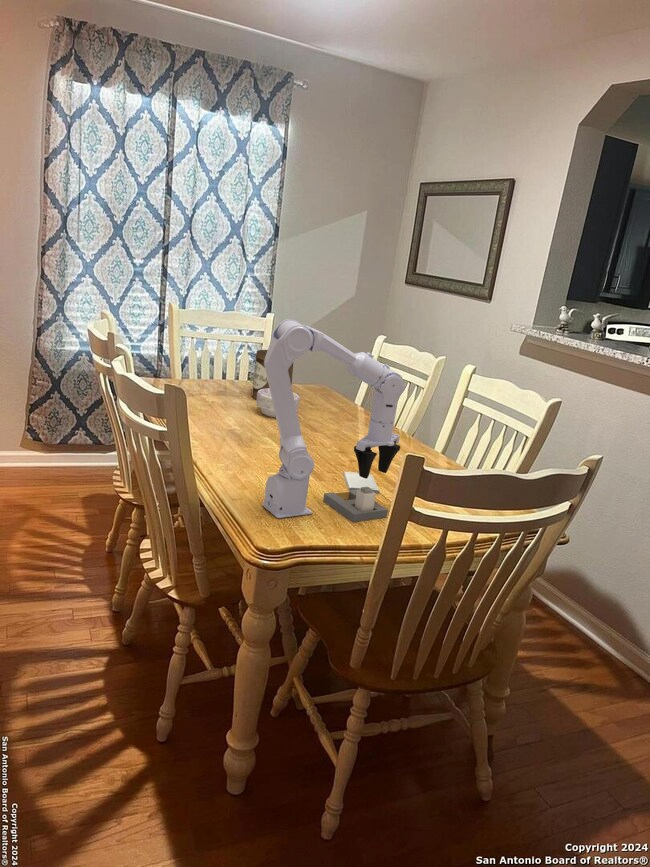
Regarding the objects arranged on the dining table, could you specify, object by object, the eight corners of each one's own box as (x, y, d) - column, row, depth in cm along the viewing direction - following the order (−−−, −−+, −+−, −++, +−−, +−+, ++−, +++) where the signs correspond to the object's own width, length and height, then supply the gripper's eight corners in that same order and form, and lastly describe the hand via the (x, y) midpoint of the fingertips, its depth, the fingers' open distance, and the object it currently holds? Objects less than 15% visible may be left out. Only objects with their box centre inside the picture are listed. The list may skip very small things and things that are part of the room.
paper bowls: (296, 423, 228) (298, 401, 226) (252, 417, 228) (254, 395, 226) (298, 412, 243) (301, 391, 240) (257, 406, 242) (260, 386, 240)
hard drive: (379, 490, 172) (372, 473, 184) (349, 487, 171) (343, 470, 183) (378, 496, 172) (371, 479, 184) (348, 493, 171) (342, 476, 183)
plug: (361, 518, 155) (365, 491, 153) (353, 512, 158) (357, 486, 156) (371, 516, 157) (376, 490, 155) (364, 511, 160) (368, 485, 158)
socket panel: (353, 522, 152) (354, 514, 152) (323, 500, 162) (324, 493, 162) (386, 517, 158) (387, 509, 157) (355, 496, 168) (356, 489, 167)
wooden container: (248, 393, 261) (254, 338, 255) (284, 395, 266) (290, 341, 260) (256, 403, 248) (262, 345, 242) (293, 405, 252) (300, 348, 246)
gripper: (377, 428, 146) (367, 485, 150) (413, 421, 157) (403, 474, 161) (352, 420, 150) (344, 475, 154) (389, 413, 161) (380, 465, 165)
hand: (373, 474), depth 158 cm, fingers open, 7 cm apart
